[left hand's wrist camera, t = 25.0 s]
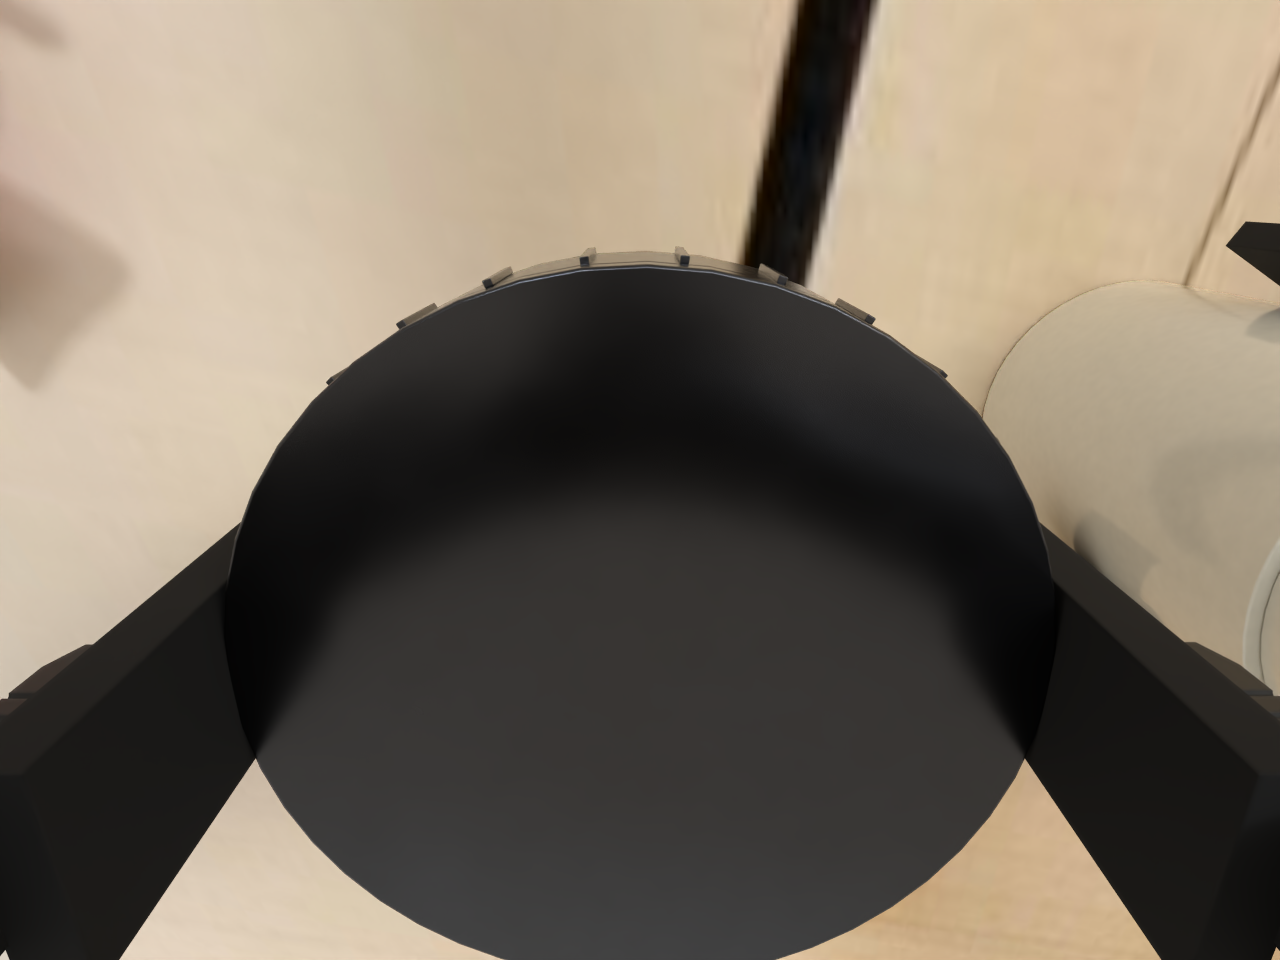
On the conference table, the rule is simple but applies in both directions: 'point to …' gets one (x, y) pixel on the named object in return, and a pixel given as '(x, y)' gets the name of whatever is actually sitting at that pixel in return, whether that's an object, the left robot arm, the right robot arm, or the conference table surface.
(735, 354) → the lid
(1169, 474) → the jar
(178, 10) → the conference table surface
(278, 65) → the conference table surface
